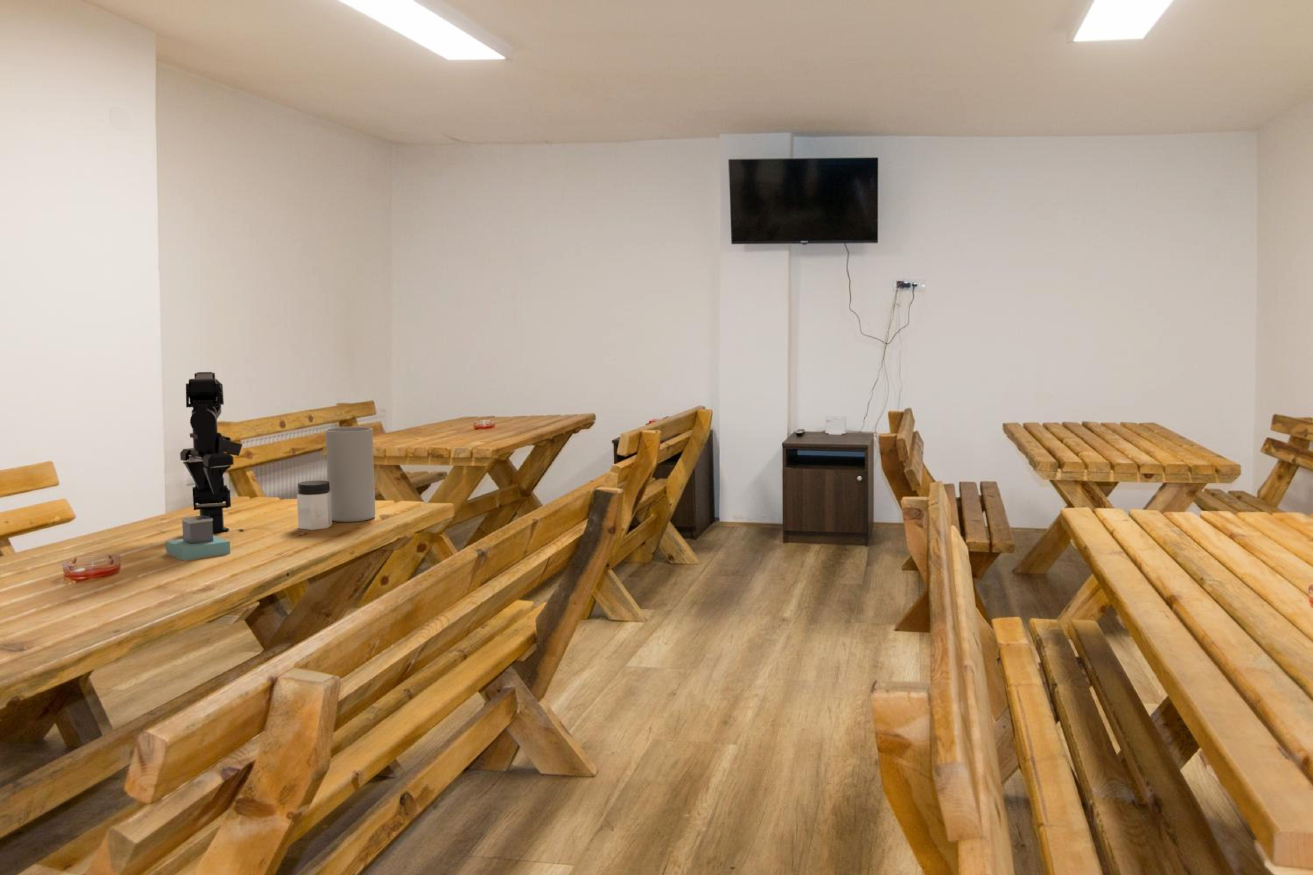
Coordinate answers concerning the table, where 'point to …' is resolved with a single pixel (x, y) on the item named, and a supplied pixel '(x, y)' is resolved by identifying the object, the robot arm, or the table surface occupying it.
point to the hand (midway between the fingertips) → (208, 491)
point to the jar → (314, 505)
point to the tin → (197, 529)
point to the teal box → (197, 548)
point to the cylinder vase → (351, 473)
